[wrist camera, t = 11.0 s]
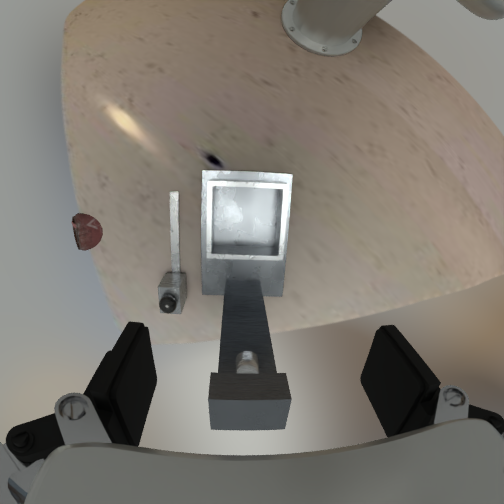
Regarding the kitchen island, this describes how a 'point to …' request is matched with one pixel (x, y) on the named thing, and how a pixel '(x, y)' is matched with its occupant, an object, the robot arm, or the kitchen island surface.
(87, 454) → the robot arm
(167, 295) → the lever
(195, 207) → the kitchen island surface
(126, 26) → the kitchen island surface
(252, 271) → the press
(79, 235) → the red can
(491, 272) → the kitchen island surface
